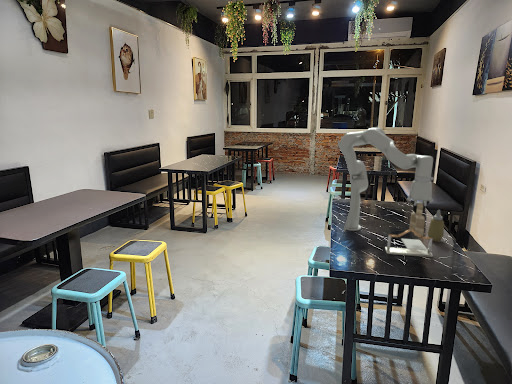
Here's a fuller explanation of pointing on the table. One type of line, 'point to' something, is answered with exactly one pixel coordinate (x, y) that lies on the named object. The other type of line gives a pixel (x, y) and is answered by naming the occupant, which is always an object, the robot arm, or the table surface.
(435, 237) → the squeeze bottle
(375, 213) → the table surface
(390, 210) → the table surface
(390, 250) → the wire
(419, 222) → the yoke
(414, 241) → the pad
